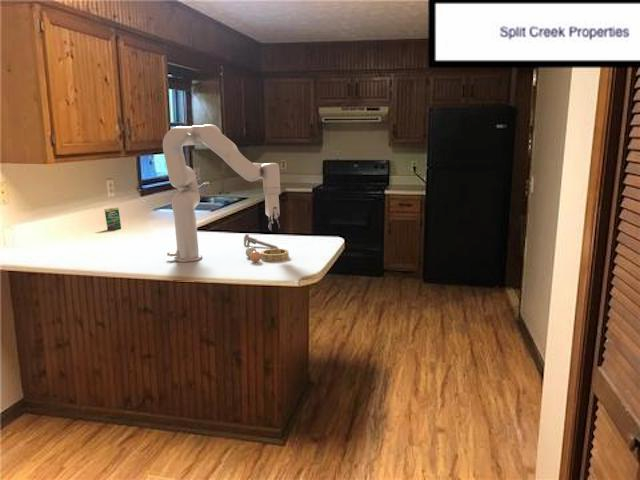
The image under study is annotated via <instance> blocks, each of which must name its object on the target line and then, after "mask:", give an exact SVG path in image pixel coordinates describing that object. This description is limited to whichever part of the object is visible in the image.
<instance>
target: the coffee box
mask: <svg viewBox="0 0 640 480" xmlns="http://www.w3.org/2000/svg"><path fill="white" fill-rule="evenodd" d="M104 215H105V223H106V230H107V231H112V230H120V229H122V225H121V217H120V211H119V207H112V208H104Z"/></svg>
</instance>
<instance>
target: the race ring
mask: <svg viewBox="0 0 640 480" xmlns="http://www.w3.org/2000/svg"><path fill="white" fill-rule="evenodd" d="M260 254H261V259H260V260H261V261H264V262H273V263H274V262H283V261H286V260H288V259H289V257H290V254H289V250H288V249H285V248H279V249H274V248H268V249H264V250H261V251H260Z"/></svg>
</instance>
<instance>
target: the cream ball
mask: <svg viewBox="0 0 640 480" xmlns="http://www.w3.org/2000/svg"><path fill="white" fill-rule="evenodd" d="M253 251H257V249H256V248H255V247H254V246H247V248H246V249H245V255H246V257H248V258H250V254H251V253H252V252H253Z"/></svg>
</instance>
